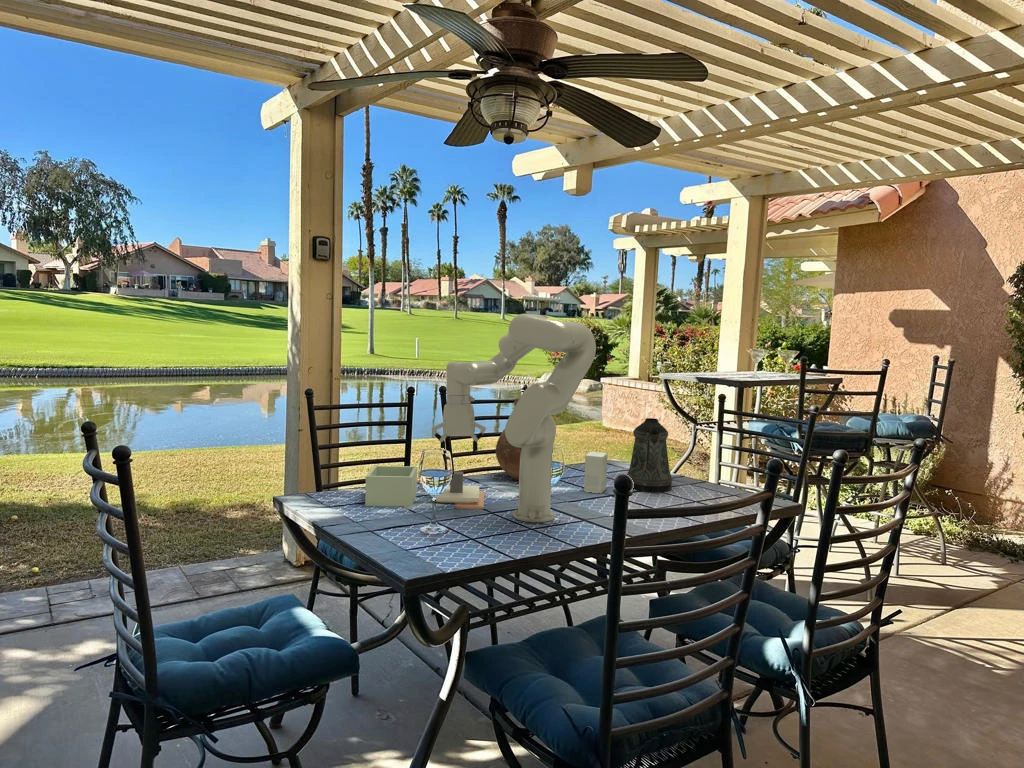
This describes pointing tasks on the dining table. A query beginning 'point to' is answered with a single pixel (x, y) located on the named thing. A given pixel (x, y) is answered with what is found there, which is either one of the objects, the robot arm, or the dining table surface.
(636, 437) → the beer stein
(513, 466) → the jug
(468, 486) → the lid
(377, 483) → the storage tub
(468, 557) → the dining table surface
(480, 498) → the tile
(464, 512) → the dining table surface
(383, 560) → the dining table surface
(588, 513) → the dining table surface
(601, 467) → the small box
